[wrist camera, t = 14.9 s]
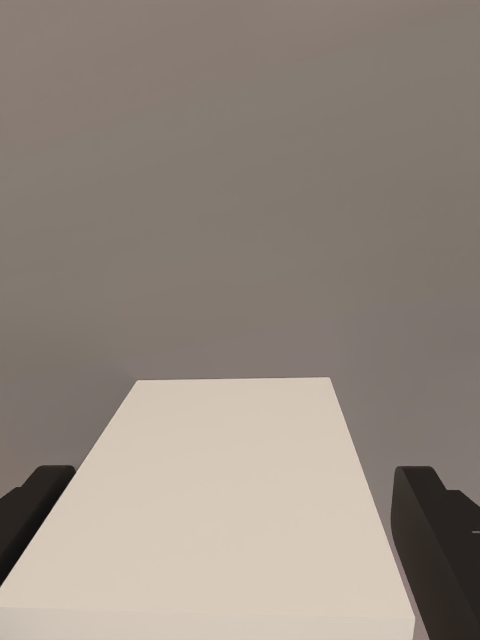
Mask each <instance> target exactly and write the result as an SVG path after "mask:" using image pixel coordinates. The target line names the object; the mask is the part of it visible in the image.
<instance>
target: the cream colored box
mask: <svg viewBox="0 0 480 640" xmlns="http://www.w3.org/2000/svg"><path fill="white" fill-rule="evenodd" d="M414 624H415V617H414V614H413V611H412V608H411V605H410V602H409V600H408V597H407V594H406V591H405V588H404V586H403V583H402V580H401V577H400V574H399V572H398V569H397V566H396V563H395V560H394V558H393V555H392V552H391V549H390V546H389V543H388V541H387V538H386V535H385V532H384V529H383V527H382V524H381V521H380V518H379V515H378V513H377V510H376V507H375V504H374V501H373V498H372V496H371V493H370V490H369V487H368V484H367V482H366V479H365V476H364V473H363V470H362V468H361V465H360V462H359V459H358V456H357V453H356V451H355V448H354V445H353V442H352V439H351V437H350V434H349V431H348V428H347V425H346V423H345V420H344V417H343V414H342V411H341V408H340V406H339V403H338V400H337V397H336V394H335V392H334V389H333V386H332V383H331V380H330V378H329V377H324V378H260V379H195V380H137V382H136V383H135V385H134V386H133V388H132V389H131V391H130V392H129V394H128V395H127V397H126V398H125V400H124V401H123V403H122V404H121V406H120V407H119V409H118V410H117V412H116V413H115V415H114V416H113V418H112V419H111V421H110V422H109V424H108V426H107V427H106V429H105V430H104V432H103V433H102V435H101V436H100V438H99V439H98V441H97V442H96V444H95V445H94V447H93V448H92V450H91V451H90V453H89V454H88V456H87V457H86V459H85V460H84V462H83V463H82V465H81V466H80V468H79V469H78V471H77V472H76V474H75V475H74V477H73V478H72V480H71V481H70V483H69V484H68V486H67V487H66V489H65V490H64V492H63V493H62V495H61V496H60V498H59V500H58V501H57V503H56V504H55V506H54V507H53V509H52V510H51V512H50V513H49V515H48V516H47V518H46V519H45V521H44V522H43V524H42V525H41V527H40V528H39V530H38V531H37V533H36V534H35V536H34V537H33V539H32V540H31V542H30V543H29V545H28V546H27V548H26V549H25V551H24V552H23V554H22V555H21V557H20V558H19V560H18V561H17V563H16V564H15V566H14V567H13V569H12V570H11V572H10V574H9V575H8V577H7V578H6V580H5V581H4V583H3V584H2V586H1V587H0V640H412V638H413V631H414Z"/></svg>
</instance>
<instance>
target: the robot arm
mask: <svg viewBox="0 0 480 640" xmlns="http://www.w3.org/2000/svg"><path fill="white" fill-rule="evenodd" d="M75 474H76V471H75V469H74V467H73V466H70V465H43V466H40V467H38V468H37V469H36V470H35V471H34V472H33V473H32V474H31V476H30V477H29V478H28V479H27V480H26V482H25V483H24V484H23V485H22V486H21V487H16V488H14V489H13V490H12V491H10V492H9V493H7V494H6V495H5V496H3V497H2V498H1V499H0V587H1V586H2V584H3V583H4V581H5V580H6V578H7V577H8V575H9V574H10V572H11V570H12V569H13V567H14V566H15V564H16V563H17V561H18V560H19V558H20V557H21V555H22V554H23V552H24V551H25V549H26V548H27V546H28V545H29V543H30V542H31V540H32V539H33V537H34V536H35V534H36V533H37V531H38V530H39V528H40V527H41V525H42V524H43V522H44V521H45V519H46V518H47V516H48V515H49V513H50V512H51V510H52V509H53V507H54V506H55V504H56V503H57V501H58V500H59V498H60V496H61V495H62V493H63V492H64V490H65V489H66V487H67V486H68V484H69V483H70V481H71V480H72V478H73V477H74V475H75ZM391 529H392V535H393V540H394V543H395V546H396V549H397V552H398V555H399V557H400V560H401V563H402V565H403V568H404V571H405V574H406V576H407V579H408V582H409V584H410V587H411V590H412V593H413V595H414V598H415V601H416V604H417V606H418V609H419V612H420V614H421V617H422V620H423V623H424V625H425V628H426V631H427V633H428V636H429V639H430V640H480V507H479V506H478V505H477V504H475V503H474V502H473V501H472V500H471V499H469V498H468V497H467V496H466V495H465V494H463V493H462V492H461V491H460V490H446V488H445V486H444V485H443V483H442V482H441V480H440V478H439V477H438V475H437V473H436V472H435V470H434V469H433V468H432V467H430V466H398V467H397V468H396V469H395V475H394V486H393V496H392V507H391Z"/></svg>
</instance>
